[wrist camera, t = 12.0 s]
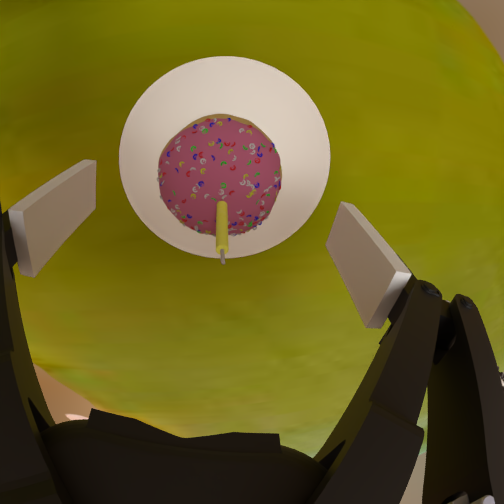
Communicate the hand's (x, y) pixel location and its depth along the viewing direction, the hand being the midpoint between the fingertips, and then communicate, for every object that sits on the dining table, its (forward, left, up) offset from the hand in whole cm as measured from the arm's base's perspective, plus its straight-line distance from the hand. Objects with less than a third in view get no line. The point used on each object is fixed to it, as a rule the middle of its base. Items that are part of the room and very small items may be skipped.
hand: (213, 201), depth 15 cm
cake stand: (0, 0, -19) cm, 19 cm away
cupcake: (0, 0, -10) cm, 10 cm away
